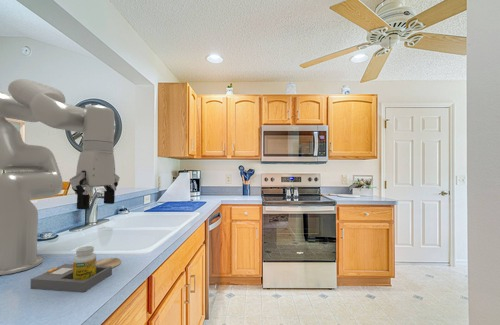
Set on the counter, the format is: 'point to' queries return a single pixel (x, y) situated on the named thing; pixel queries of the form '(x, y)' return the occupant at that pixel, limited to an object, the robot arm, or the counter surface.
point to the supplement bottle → (84, 263)
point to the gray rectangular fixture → (68, 279)
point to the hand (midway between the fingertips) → (96, 206)
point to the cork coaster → (109, 262)
